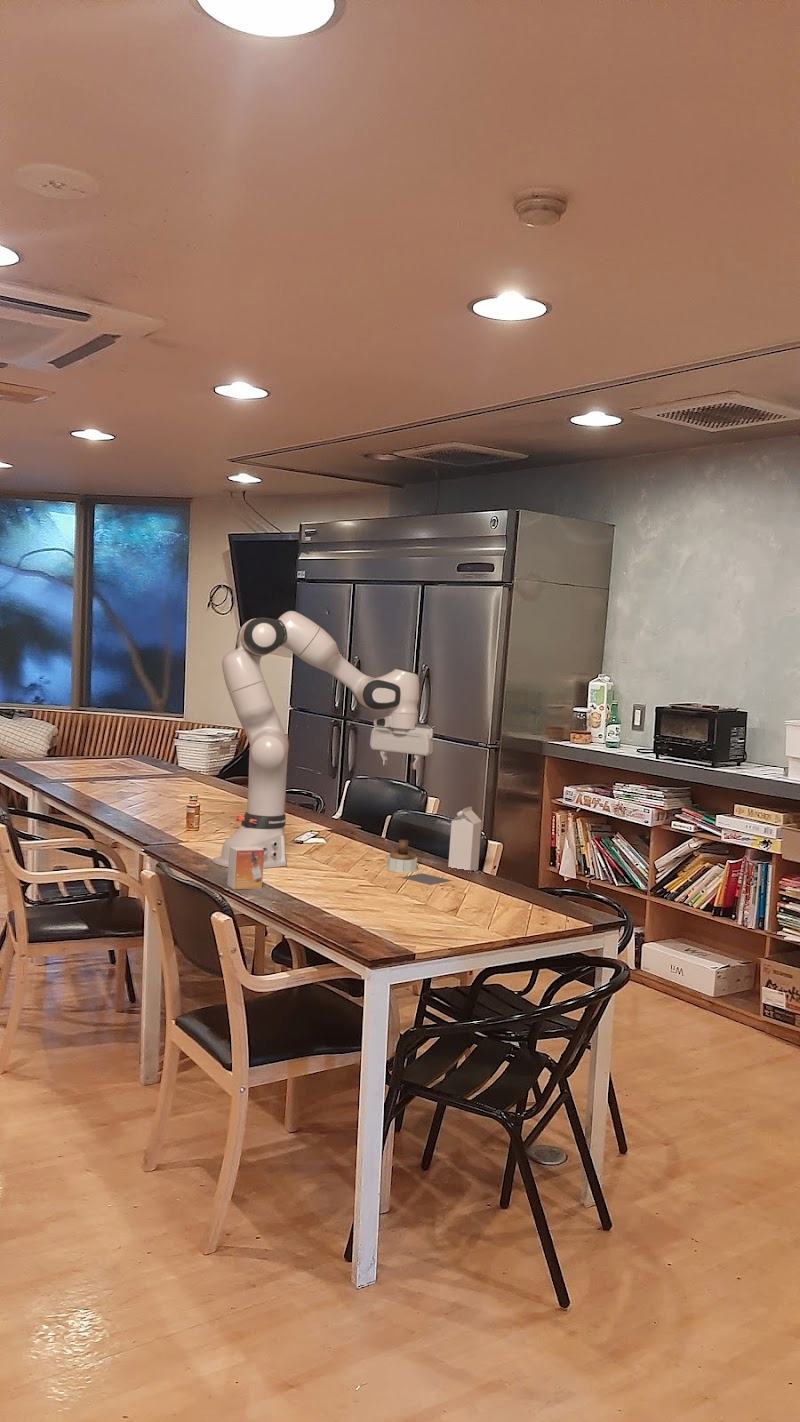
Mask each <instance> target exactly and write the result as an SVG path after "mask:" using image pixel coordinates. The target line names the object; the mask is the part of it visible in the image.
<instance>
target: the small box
mask: <svg viewBox="0 0 800 1422" xmlns="http://www.w3.org/2000/svg"><path fill="white" fill-rule="evenodd" d="M263 864H264V849H262V848H260V847H258V846H247V847H230V850H229V865H228V867H227V868H228V869H227V881H226V882H227V883H226V884H227V886H228V887H229V888H231V889H232V890H262V889H263V880H264V878H263V876H264V868H263Z"/></svg>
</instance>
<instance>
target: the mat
mask: <svg viewBox="0 0 800 1422" xmlns="http://www.w3.org/2000/svg"><path fill="white" fill-rule="evenodd" d="M400 878H401V879H403V880H408V881H411V882H412V881H413V882H416V883H417V882H418V883H420V884H421V883H422V884H425V885H428V886H429V885H430V886H434V885H437V884H443V883H447V882H452V881H453V880H452V879H448V878H444V877H440V876H435V875H431V874H428V873H422V872H421V873H417V874H412V875H406V876H401V877H400Z"/></svg>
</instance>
